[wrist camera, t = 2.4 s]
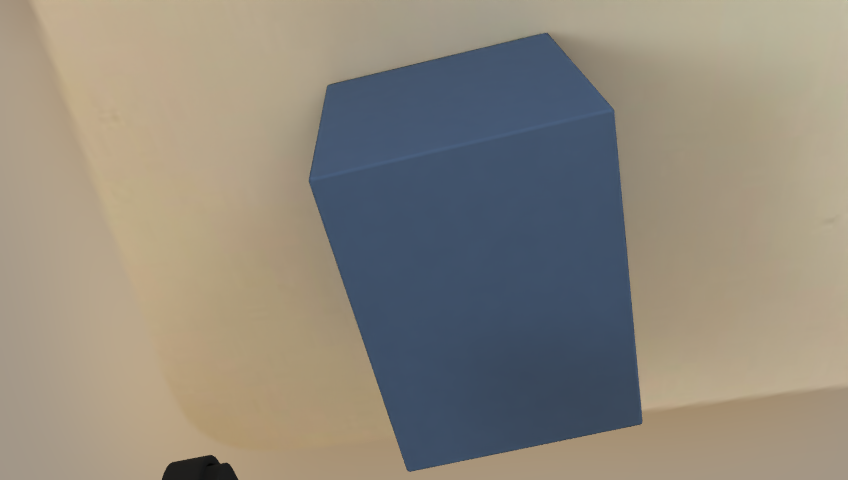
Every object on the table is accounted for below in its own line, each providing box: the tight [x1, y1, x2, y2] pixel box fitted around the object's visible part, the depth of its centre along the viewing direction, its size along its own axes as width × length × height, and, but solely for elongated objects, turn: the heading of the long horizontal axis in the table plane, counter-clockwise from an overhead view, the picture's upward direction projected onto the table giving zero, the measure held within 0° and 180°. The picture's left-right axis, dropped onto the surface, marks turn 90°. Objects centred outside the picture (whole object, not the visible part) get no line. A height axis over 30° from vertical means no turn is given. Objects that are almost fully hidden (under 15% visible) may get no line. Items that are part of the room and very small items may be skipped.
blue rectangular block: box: [309, 33, 642, 472], centre depth 15 cm, size 5×7×5 cm
